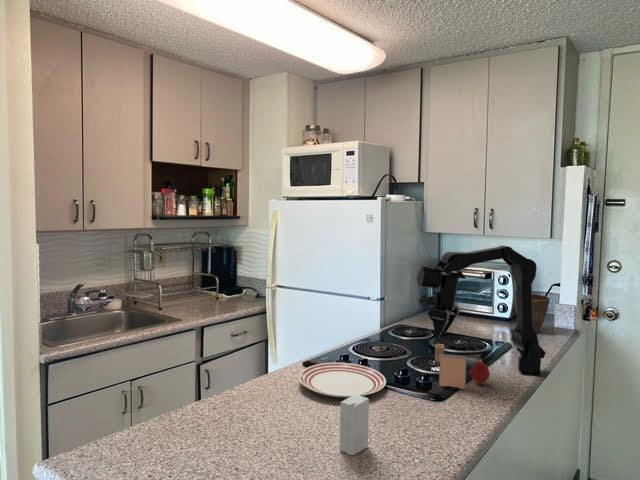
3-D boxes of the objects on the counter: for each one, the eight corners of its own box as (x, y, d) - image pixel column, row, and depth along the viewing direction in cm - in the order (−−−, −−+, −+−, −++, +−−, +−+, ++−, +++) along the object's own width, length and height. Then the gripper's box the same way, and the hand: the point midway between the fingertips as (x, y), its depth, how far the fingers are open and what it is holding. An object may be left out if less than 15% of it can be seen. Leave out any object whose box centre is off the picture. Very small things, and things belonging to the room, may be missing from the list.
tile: (438, 385, 153) (439, 354, 153) (464, 387, 152) (466, 356, 151) (439, 387, 151) (440, 356, 151) (465, 389, 150) (466, 358, 149)
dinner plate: (396, 379, 158) (396, 369, 158) (369, 412, 134) (369, 400, 133) (320, 366, 170) (321, 357, 170) (282, 394, 145) (282, 383, 145)
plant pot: (550, 330, 221) (551, 296, 220) (545, 337, 208) (547, 301, 207) (515, 325, 229) (517, 292, 228) (509, 332, 216) (510, 297, 215)
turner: (430, 359, 179) (431, 343, 178) (447, 360, 177) (448, 344, 177) (431, 373, 164) (432, 355, 164) (450, 374, 163) (450, 357, 162)
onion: (490, 388, 151) (491, 363, 150) (471, 386, 152) (471, 362, 151) (487, 381, 157) (488, 357, 156) (469, 380, 158) (470, 356, 157)
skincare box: (353, 441, 117) (354, 393, 116) (369, 447, 114) (370, 398, 113) (338, 451, 112) (338, 400, 111) (353, 458, 109) (354, 406, 108)
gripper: (431, 283, 171) (424, 326, 172) (416, 286, 154) (408, 334, 155) (463, 290, 166) (455, 334, 166) (450, 294, 149) (442, 343, 150)
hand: (440, 336), depth 160 cm, fingers open, 9 cm apart
